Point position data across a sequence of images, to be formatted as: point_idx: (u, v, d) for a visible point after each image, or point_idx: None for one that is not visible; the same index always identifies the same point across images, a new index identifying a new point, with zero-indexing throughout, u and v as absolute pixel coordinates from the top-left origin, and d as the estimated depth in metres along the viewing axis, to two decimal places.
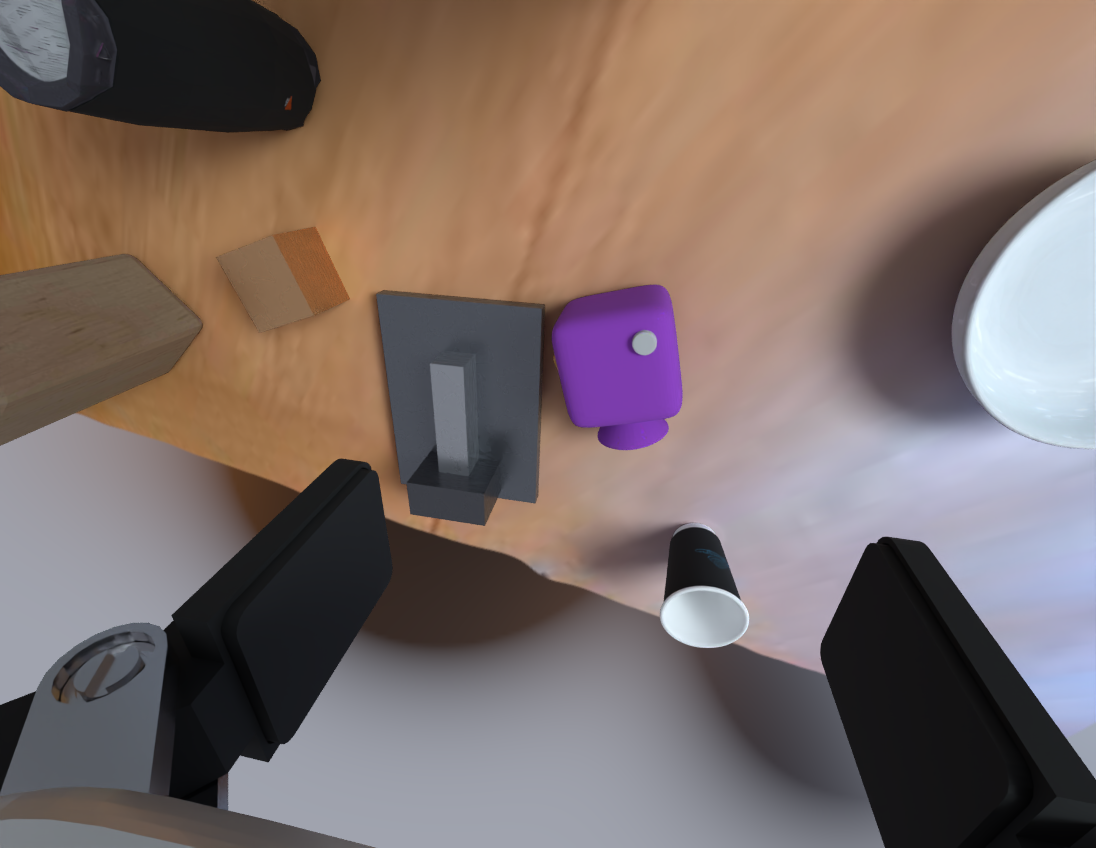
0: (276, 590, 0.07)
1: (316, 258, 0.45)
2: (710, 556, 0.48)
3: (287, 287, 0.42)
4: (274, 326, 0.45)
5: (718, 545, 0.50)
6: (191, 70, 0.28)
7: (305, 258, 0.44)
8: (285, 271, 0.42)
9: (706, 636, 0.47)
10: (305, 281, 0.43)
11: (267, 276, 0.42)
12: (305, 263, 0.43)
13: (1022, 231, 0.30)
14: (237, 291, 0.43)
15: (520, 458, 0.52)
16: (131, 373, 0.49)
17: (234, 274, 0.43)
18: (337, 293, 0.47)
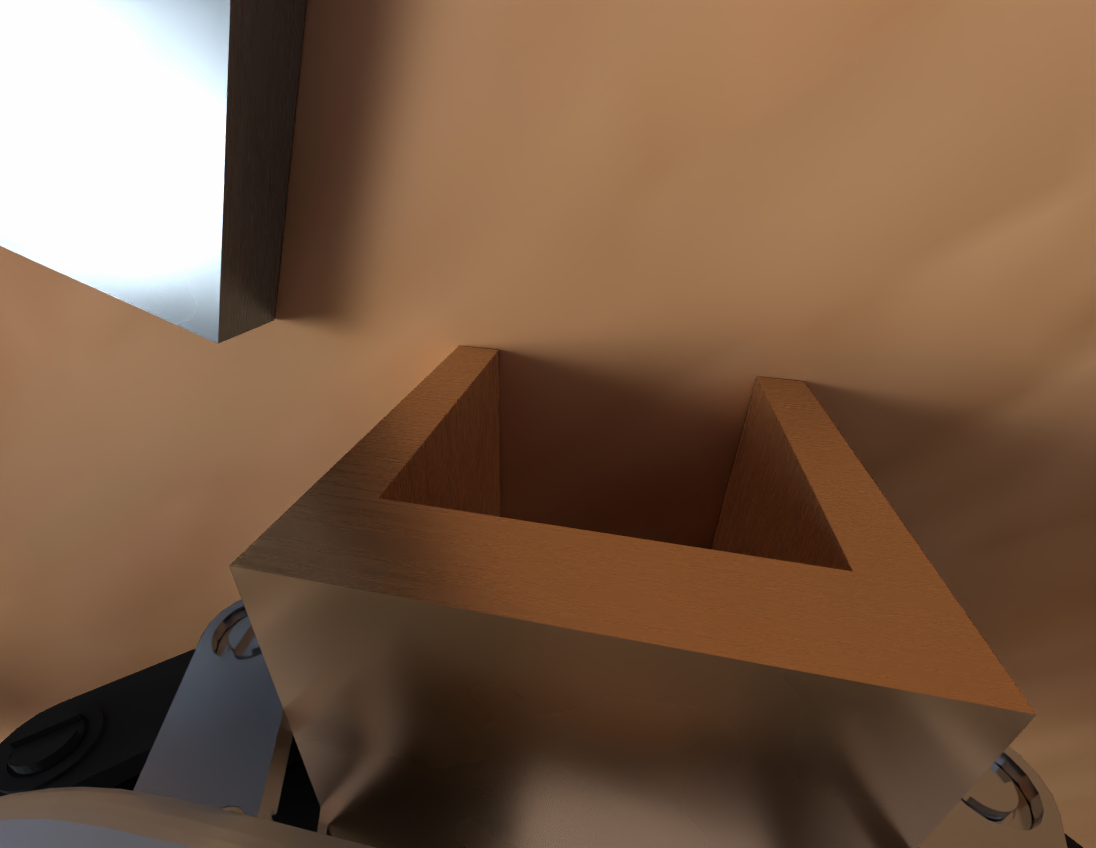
0: None
1: None
2: None
3: (384, 763, 0.06)
4: (750, 672, 0.04)
5: None
6: None
7: None
8: (354, 807, 0.06)
9: None
10: None
11: None
12: None
13: None
14: None
15: None
16: None
17: None
18: None
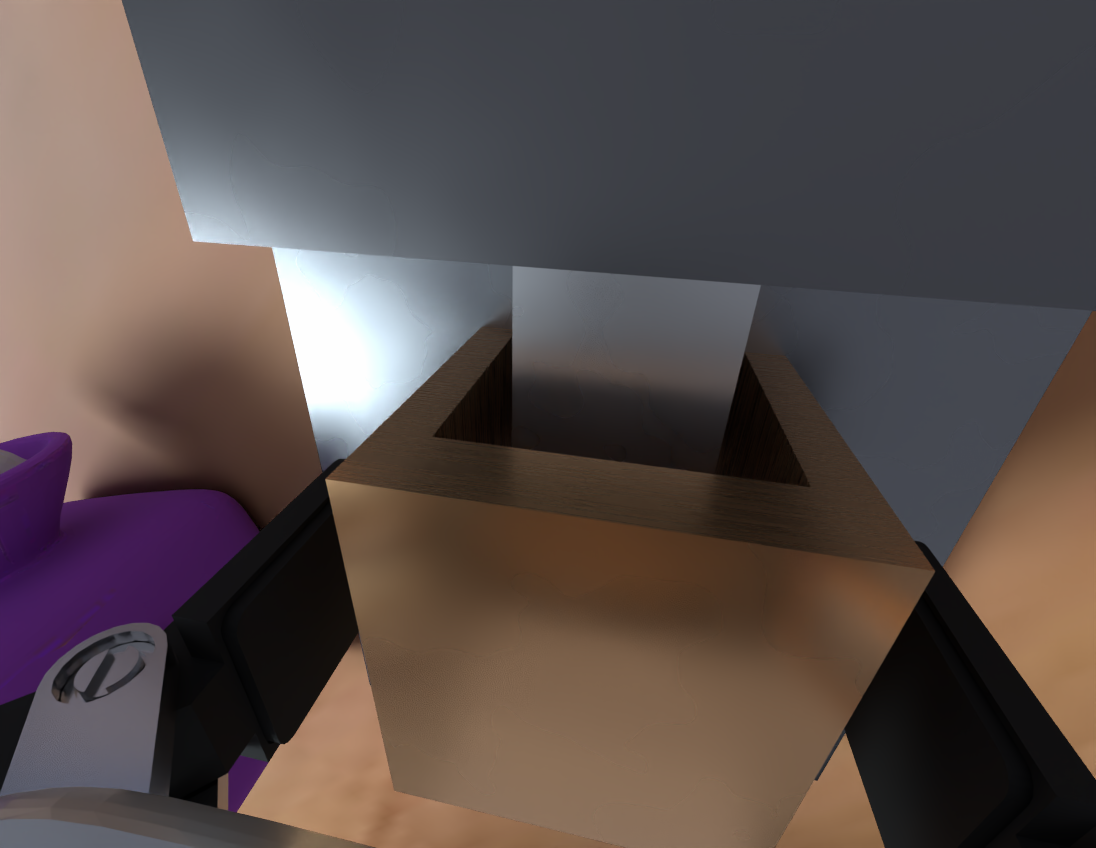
0: (276, 590, 0.07)
1: None
2: None
3: (435, 655, 0.07)
4: (727, 549, 0.05)
5: None
6: None
7: None
8: (405, 702, 0.07)
9: None
10: None
11: (531, 733, 0.07)
12: None
13: None
14: (799, 779, 0.07)
15: None
16: None
17: (724, 814, 0.07)
18: None
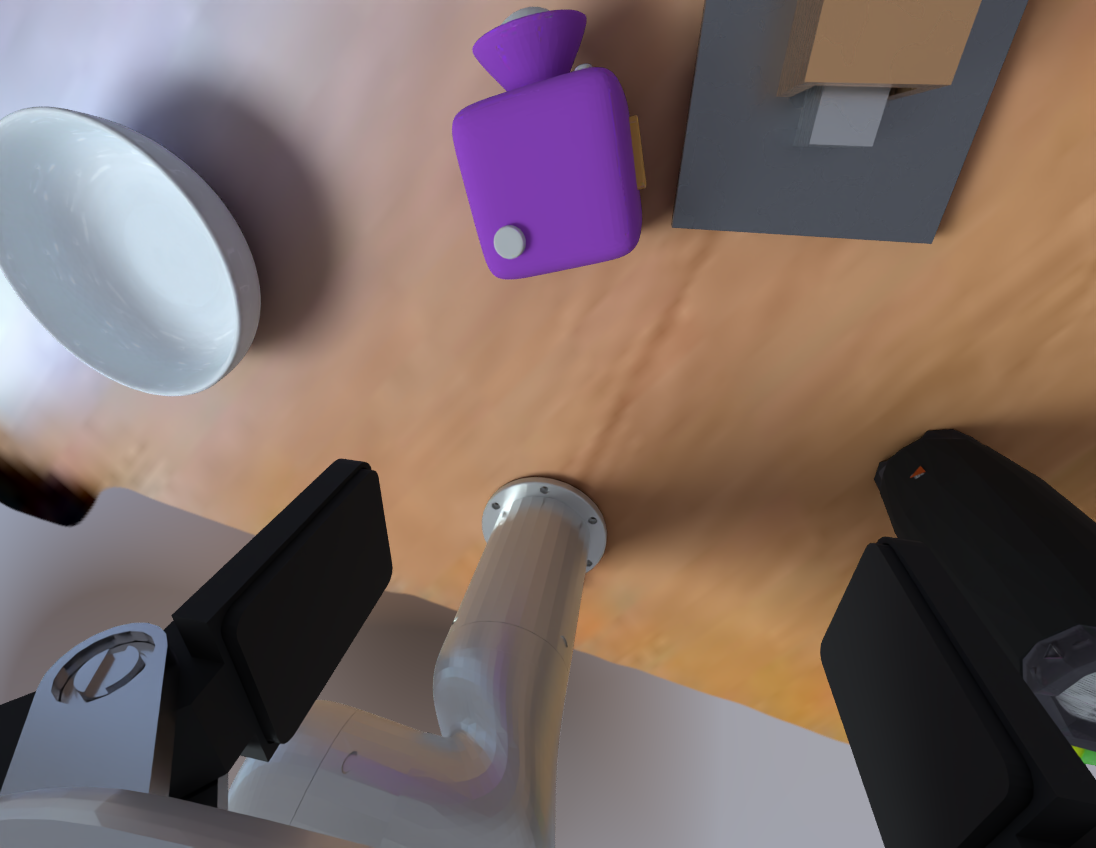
0: (276, 590, 0.07)
1: (798, 31, 0.25)
2: None
3: None
4: None
5: None
6: (981, 575, 0.27)
7: (804, 31, 0.24)
8: (835, 3, 0.22)
9: None
10: None
11: (882, 6, 0.22)
12: (808, 20, 0.24)
13: (237, 334, 0.37)
14: None
15: None
16: None
17: (946, 36, 0.22)
18: None
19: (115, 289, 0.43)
